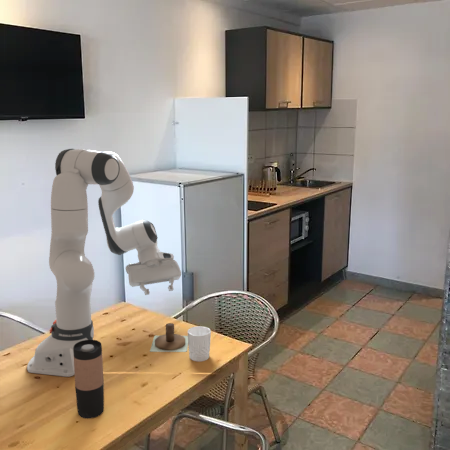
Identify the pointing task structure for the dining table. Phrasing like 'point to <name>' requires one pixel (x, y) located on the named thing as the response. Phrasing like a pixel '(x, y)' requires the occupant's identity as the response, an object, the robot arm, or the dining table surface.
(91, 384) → the travel mug
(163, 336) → the lid
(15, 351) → the dining table surface
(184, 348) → the mat
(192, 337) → the white cup
